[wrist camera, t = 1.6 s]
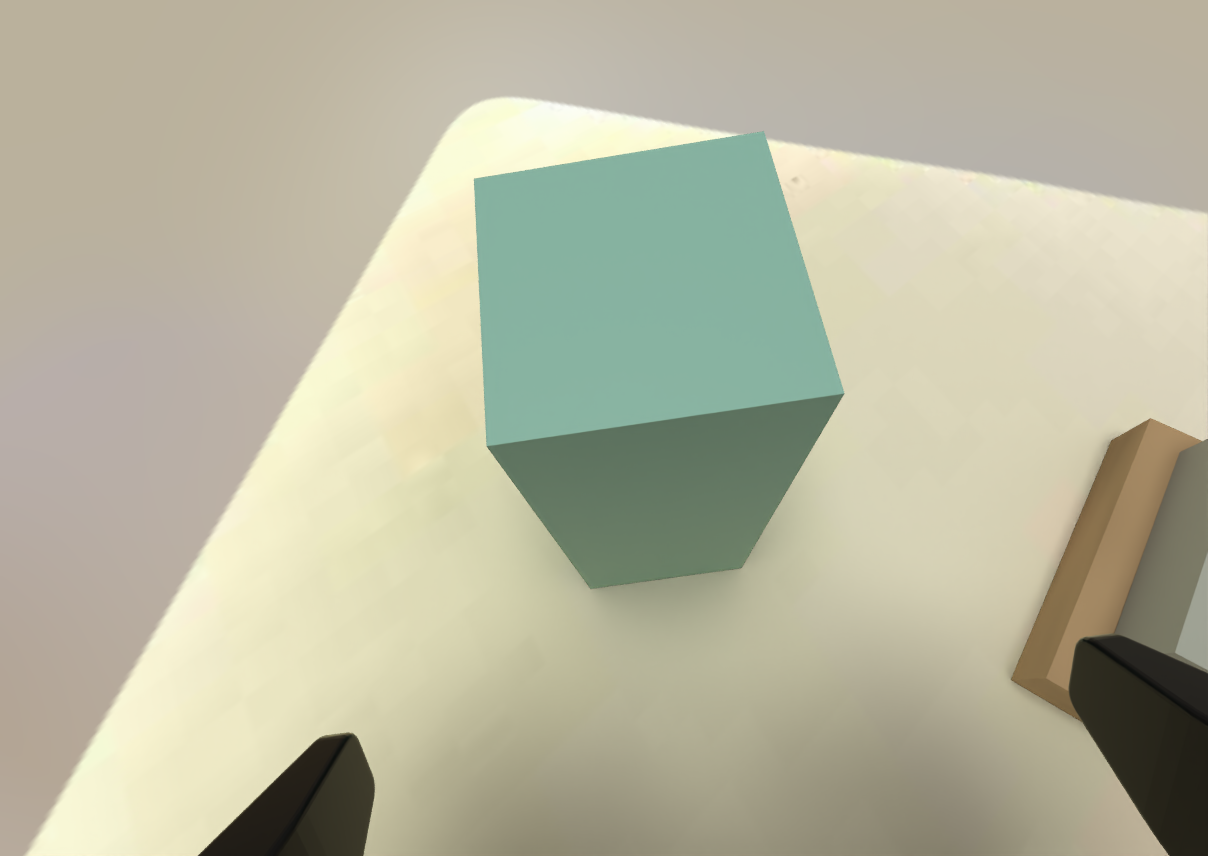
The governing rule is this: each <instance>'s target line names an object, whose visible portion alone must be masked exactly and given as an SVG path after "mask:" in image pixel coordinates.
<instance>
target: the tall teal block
mask: <svg viewBox="0 0 1208 856" xmlns="http://www.w3.org/2000/svg"><path fill="white" fill-rule="evenodd" d="M474 190H475V211H476V232H477V253H478V274H479V295H480V316H481V337H482V358H483V380H484V401H485V422H486V443H487V447H488V449H489V450H490V451H491V453H492V454H493V456H494V457H495V458H496V460H497V461H498V462H499V464H500V465H501V467H502V468H503V469H504V471H505V472H506V473H507V475H508V476H509V478H510V479H511V480H512V482H513V483H514V484H515V486H516V487H517V489H518V490H519V491H520V493H521V494H522V495H523V497H524V498H525V499H526V501H527V502H528V504H529V505H530V506H531V508H532V509H533V510H534V512H535V513H536V515H537V516H538V517H539V519H540V520H541V521H542V523H543V524H544V526H545V527H546V528H547V530H548V531H549V532H550V534H551V535H552V537H553V538H554V539H555V541H556V542H557V543H558V545H559V546H560V547H561V549H562V550H563V552H564V553H565V554H566V556H567V557H568V558H569V560H570V561H571V563H572V564H573V565H574V567H575V568H576V569H577V571H578V572H579V574H580V575H581V576H582V578H583V579H584V580H585V582H586V583H587V584H588V586H589V587H590V589H593V588H600V587H608V586H615V585H622V584H629V583H637V582H644V581H651V580H659V579H666V578H673V577H680V576H688V575H695V574H702V573H709V572H717V571H724V570H731V569H738V568H742V566H743V564H744V563H745V561H746V559H747V557H748V556H749V554H750V552H751V551H752V549H753V547H754V546H755V544H756V542H757V541H758V539H759V537H760V535H761V534H762V532H763V530H764V529H765V527H766V525H767V524H768V522H769V520H770V519H771V517H772V515H773V513H774V512H775V510H776V508H777V507H778V505H779V503H780V502H781V500H782V498H783V497H784V495H785V493H786V491H787V490H788V488H789V486H790V485H791V483H792V481H793V480H794V478H795V476H796V475H797V473H798V471H799V469H800V468H801V466H802V464H803V463H804V461H805V459H806V458H807V456H808V454H809V453H810V451H811V449H812V448H813V446H814V444H815V442H816V441H817V439H818V437H819V436H820V434H821V432H822V431H823V429H824V427H825V426H826V424H827V422H828V420H829V419H830V417H831V415H832V414H833V412H834V410H835V409H836V407H837V405H838V404H839V402H840V400H841V398H842V397H843V395H844V391H843V387H842V384H841V381H840V378H839V374H838V371H837V368H836V365H835V361H834V358H833V355H832V352H831V348H830V345H829V342H828V338H827V335H826V332H825V329H824V325H823V322H822V319H821V316H820V312H819V309H818V306H817V303H816V299H815V296H814V293H813V290H812V286H811V283H810V280H809V277H808V273H807V270H806V267H805V264H804V260H803V257H802V254H801V251H800V247H799V244H798V241H797V238H796V234H795V231H794V228H793V225H792V221H791V218H790V215H789V212H788V208H787V205H786V202H785V199H784V195H783V192H782V189H781V185H780V182H779V179H778V176H777V172H776V169H775V166H774V163H773V159H772V156H771V153H770V150H769V146H768V143H767V140H766V137H765V134H764V131H763V132H757V133H751V134H744V135H738V136H732V137H726V138H720V139H714V140H708V141H702V142H696V143H690V144H683V145H677V146H671V147H665V148H659V149H653V150H647V151H641V152H635V153H629V154H623V155H616V156H610V157H604V158H598V159H592V160H586V161H580V162H574V163H568V164H562V165H555V166H549V167H543V168H537V169H531V170H525V171H519V172H513V173H507V174H501V175H494V176H488V177H482V178H476V179H474Z"/></svg>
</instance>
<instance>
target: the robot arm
mask: <svg viewBox="0 0 1208 856" xmlns="http://www.w3.org/2000/svg"><path fill="white" fill-rule="evenodd" d="M1068 690H1069V697H1070V700H1071V703H1072V705H1073V707H1074V709H1075V711H1076V713H1077V714H1078V716H1079V718H1080V719H1081V721H1082V722H1083V724H1084V725H1085V727H1086V729H1087V730H1088V732H1089V733H1090V735H1091V737H1092V738H1093V740H1094V741H1095V743H1096V744H1097V746H1098V748H1099V749H1100V751H1101V752H1102V754H1103V755H1104V757H1105V759H1106V760H1107V762H1108V763H1109V765H1110V767H1111V768H1112V770H1113V771H1114V773H1115V774H1116V776H1117V778H1118V779H1119V781H1120V782H1121V784H1122V786H1123V787H1124V789H1125V790H1126V792H1127V793H1128V795H1129V797H1130V798H1131V800H1132V801H1133V803H1134V804H1135V806H1136V808H1137V809H1138V811H1139V812H1140V814H1141V816H1142V817H1143V819H1144V820H1145V822H1146V823H1147V825H1148V826H1149V828H1150V829H1151V831H1152V832H1153V834H1154V835H1155V837H1156V838H1157V840H1158V841H1159V842H1160V844H1161V845H1162V846H1163V848H1164V849H1165V850H1166V852H1167V853H1168V855H1169V856H1208V673H1207V672H1205V671H1203V670H1200V669H1198V668H1196V667H1194V666H1191V665H1189V664H1187V663H1185V662H1182V661H1180V660H1178V659H1175V658H1173V657H1171V656H1169V655H1166V654H1164V653H1162V652H1159V651H1157V650H1155V649H1153V648H1150V647H1148V646H1146V645H1144V644H1141V643H1139V642H1137V641H1134V640H1132V639H1130V638H1128V637H1125V636H1123V635H1120V634H1112V633H1109V634H1102V635H1094V636H1086V637H1083V638H1080V639H1079V641H1078V642H1077V643H1076V645H1075V649H1074V655H1073V661H1072V667H1071V673H1070V679H1069V686H1068ZM374 793H375V784H374V778H373V774H372V772H371V769H370V767H369V764H368V762H367V759H366V757H365V754H364V752H363V749H362V747H361V745H360V742H359V740H358V738H357V736H355V735H354V734H353V733H349V732H348V733H340V734H333V735H325V736H322V737H320V738H319V739H317V740H316V741H315V742H314V743H313V744H312V745H311V746H310V747H309V748H308V749H306V750H305V751H304V752H303V753H302V754H301V755H300V756H299V757H298V758H297V759H296V760H295V761H294V762H293V763H292V764H291V765H290V766H289V767H288V768H287V769H286V770H285V771H284V772H283V773H282V774H281V775H280V776H279V777H278V778H277V779H276V780H275V781H274V782H273V783H272V784H271V785H270V786H269V787H268V788H267V789H266V790H265V791H263V792H262V793H261V794H260V795H259V796H258V797H257V798H256V799H255V800H254V801H253V802H252V803H251V804H250V805H249V806H248V807H247V808H246V809H245V810H244V811H243V812H242V813H241V814H240V815H239V816H238V817H237V818H236V819H235V820H234V821H233V822H232V823H231V824H230V825H229V826H228V827H227V828H226V829H225V830H224V831H223V832H222V833H220V834H219V835H218V836H217V837H216V838H215V839H214V840H213V841H212V842H211V843H210V844H209V845H208V846H207V847H206V848H205V849H204V850H203V851H202V852H201V853H200V854H199V855H198V856H363V855H364V849H365V844H366V839H367V833H368V828H369V822H370V817H371V812H372V806H373V801H374Z"/></svg>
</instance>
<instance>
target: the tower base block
mask: <svg viewBox="0 0 1208 856" xmlns="http://www.w3.org/2000/svg"><path fill="white" fill-rule="evenodd" d="M1200 442H1202V441H1201V440H1198V439H1196V438H1194V437H1192V436H1189V435H1187V434H1185V433H1183V432H1180V431H1178V430H1176V429H1174V428H1171V427H1169V426H1167V425H1165V424H1162V423H1160V422H1158V421H1156V420H1153V419H1151V418H1150V419H1148V420H1147V421H1145V422H1143V423H1141V424H1140V425H1138V426H1136V427H1134V428H1133V429H1131V430H1129V431H1127V432H1126V433H1124V434H1122V435H1120V436H1119V437H1117V438H1115V439H1113V440H1112V441H1111V443H1110V445H1109V448H1108V450H1107V452H1106V455H1105V457H1104V459H1103V462H1102V464H1101V467H1100V469H1099V471H1098V474H1097V476H1096V478H1095V481H1094V483H1093V486H1092V488H1091V490H1090V493H1089V495H1088V498H1087V500H1086V502H1085V505H1084V507H1083V509H1082V512H1081V514H1080V517H1079V519H1078V521H1077V524H1076V526H1075V528H1074V531H1073V533H1072V536H1071V538H1070V540H1069V543H1068V545H1067V548H1066V550H1065V552H1064V555H1063V557H1062V559H1061V562H1060V564H1059V567H1058V569H1057V571H1056V574H1055V576H1054V578H1053V581H1052V583H1051V586H1050V588H1049V590H1048V593H1047V595H1046V598H1045V600H1044V602H1043V605H1042V607H1041V609H1040V612H1039V614H1038V617H1037V619H1036V621H1035V624H1034V626H1033V629H1032V631H1031V633H1030V636H1029V638H1028V640H1027V643H1026V645H1025V648H1024V650H1023V652H1022V655H1021V657H1020V659H1019V662H1018V664H1017V667H1016V669H1015V671H1014V674H1013V676H1012V679H1011V680H1012V681H1014V682H1016V683H1017V684H1019V685H1021V686H1022V687H1024V688H1026V689H1027V690H1029V691H1031V692H1032V693H1034V694H1036V695H1037V696H1039V697H1041V698H1043V699H1044V700H1046V701H1048V702H1049V703H1051V704H1053V705H1054V706H1056V707H1058V708H1059V709H1061V710H1063V711H1064V712H1066V713H1068V714H1070V715H1071V716H1073V717H1075V718H1076V719H1078V720H1080V721H1081V719H1080V718H1079V716H1078V714H1077V713H1076V711H1075V709H1074V707H1073V705H1072V703H1071V700H1070V697H1069V690H1068V686H1069V679H1070V673H1071V667H1072V661H1073V655H1074V649H1075V645H1076V643H1077V642H1078V641H1079V639H1080V638H1083V637H1086V636H1094V635H1102V634H1109V633H1112V634H1114V633H1115V630H1116V627H1117V625H1118V622H1119V619H1120V616H1121V613H1122V611H1123V608H1124V605H1125V602H1126V600H1127V597H1128V594H1129V591H1130V588H1131V586H1132V583H1133V580H1134V577H1135V575H1136V572H1137V569H1138V566H1139V563H1140V561H1141V558H1142V555H1143V552H1144V550H1145V547H1146V544H1147V541H1148V539H1149V536H1150V533H1151V530H1152V527H1153V525H1154V522H1155V519H1156V516H1157V514H1158V511H1159V508H1160V505H1161V502H1162V500H1163V497H1164V494H1165V491H1166V489H1167V486H1168V483H1169V480H1170V478H1171V475H1172V472H1173V469H1174V467H1175V464H1176V461H1177V458H1178V456H1179V453H1180V452H1181V451H1183V450H1185V449H1187V448H1189V447H1192V446H1194V445H1196V444H1198V443H1200ZM1081 722H1082V721H1081Z"/></svg>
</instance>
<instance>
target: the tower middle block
mask: <svg viewBox="0 0 1208 856" xmlns="http://www.w3.org/2000/svg"><path fill="white" fill-rule="evenodd" d="M1114 634H1120V635H1123V636H1125V637H1128V638H1130V639H1132V640H1134V641H1137V642H1139V643H1141V644H1144V645H1146V646H1148V647H1150V648H1153V649H1155V650H1157V651H1159V652H1162V653H1164V654H1166V655H1169V656H1171V657H1173V658H1175V659H1178V660H1180V661H1182V662H1185V663H1187V664H1189V665H1191V666H1194V667H1196V668H1198V669H1200V670H1203V671H1205V672H1207V673H1208V439H1206V440H1204V441H1202V442H1200V443H1198V444H1196V445H1194V446H1192V447H1189V448H1187V449H1185V450H1183V451H1181V452H1180V453H1179V456H1178V458H1177V461H1176V464H1175V467H1174V469H1173V472H1172V475H1171V478H1170V480H1169V483H1168V486H1167V489H1166V491H1165V494H1164V497H1163V500H1162V502H1161V505H1160V508H1159V511H1158V514H1157V516H1156V519H1155V522H1154V525H1153V527H1152V530H1151V533H1150V536H1149V539H1148V541H1147V544H1146V547H1145V550H1144V552H1143V555H1142V558H1141V561H1140V563H1139V566H1138V569H1137V572H1136V575H1135V577H1134V580H1133V583H1132V586H1131V588H1130V591H1129V594H1128V597H1127V600H1126V602H1125V605H1124V608H1123V611H1122V613H1121V616H1120V619H1119V622H1118V625H1117V627H1116V630H1115V633H1114Z"/></svg>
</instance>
